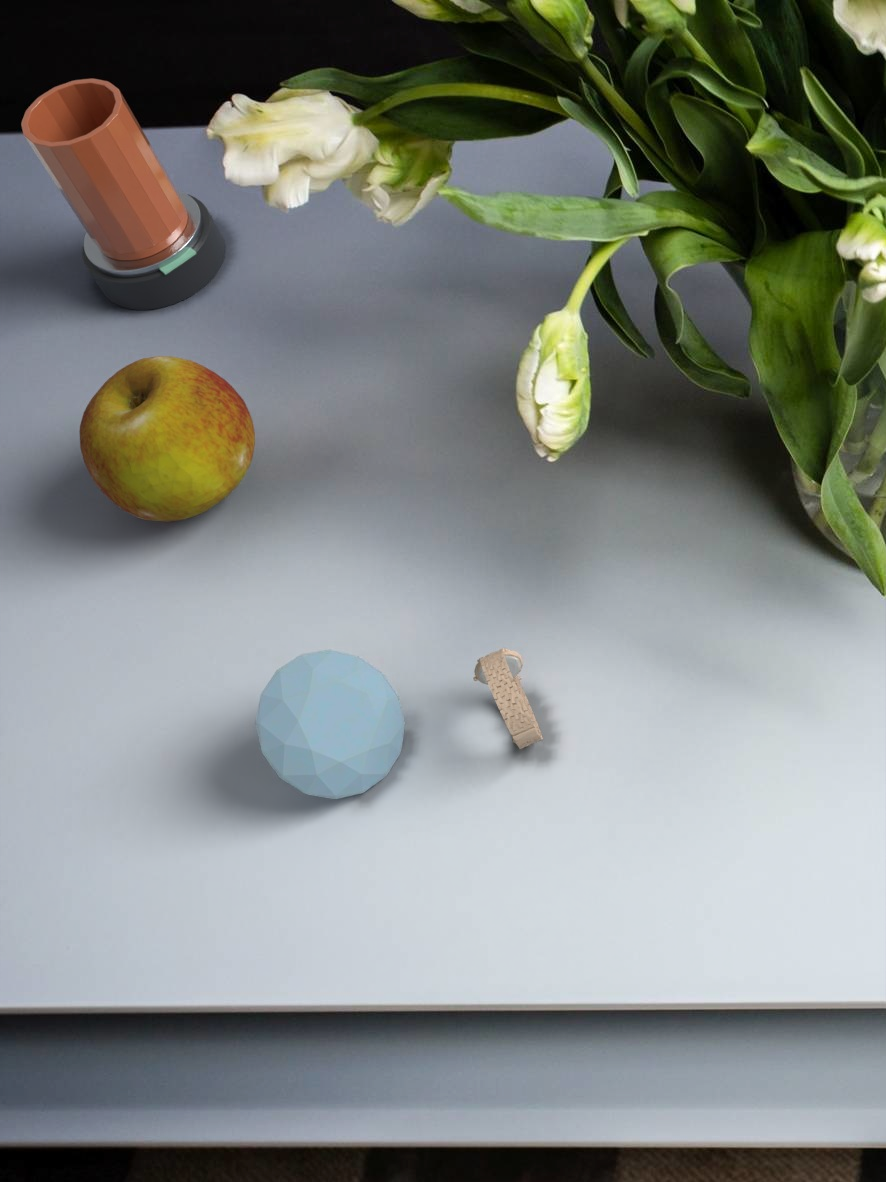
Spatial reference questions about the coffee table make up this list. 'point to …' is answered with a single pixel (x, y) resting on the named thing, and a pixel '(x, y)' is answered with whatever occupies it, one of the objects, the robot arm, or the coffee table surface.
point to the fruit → (166, 438)
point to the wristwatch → (509, 694)
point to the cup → (105, 168)
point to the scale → (162, 265)
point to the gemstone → (330, 724)
